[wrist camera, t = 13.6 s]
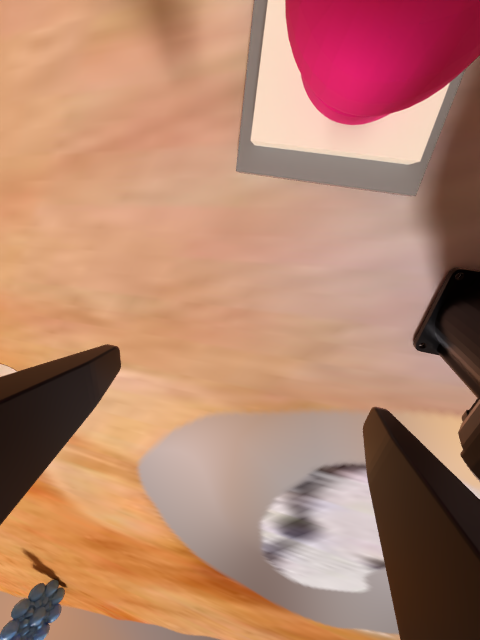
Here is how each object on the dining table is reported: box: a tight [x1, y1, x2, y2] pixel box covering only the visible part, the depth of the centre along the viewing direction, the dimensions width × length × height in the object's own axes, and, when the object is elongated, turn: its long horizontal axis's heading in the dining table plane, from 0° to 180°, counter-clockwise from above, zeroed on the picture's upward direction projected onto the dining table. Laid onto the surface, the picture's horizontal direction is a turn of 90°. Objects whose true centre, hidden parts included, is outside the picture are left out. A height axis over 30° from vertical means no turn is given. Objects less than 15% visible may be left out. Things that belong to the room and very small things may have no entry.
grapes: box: [0, 580, 65, 640], centre depth 57 cm, size 12×7×12 cm, turn 19°
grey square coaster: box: [236, 0, 465, 196], centre depth 13 cm, size 12×11×3 cm
